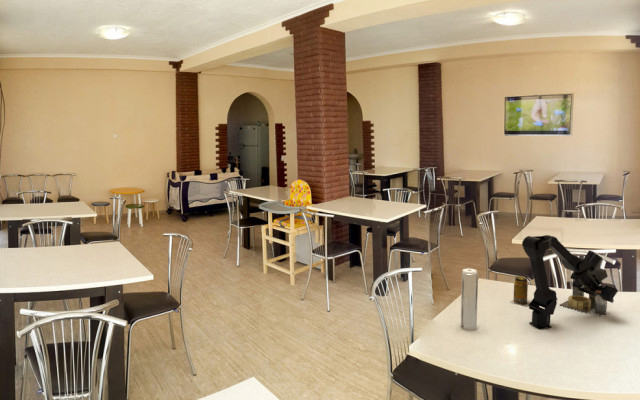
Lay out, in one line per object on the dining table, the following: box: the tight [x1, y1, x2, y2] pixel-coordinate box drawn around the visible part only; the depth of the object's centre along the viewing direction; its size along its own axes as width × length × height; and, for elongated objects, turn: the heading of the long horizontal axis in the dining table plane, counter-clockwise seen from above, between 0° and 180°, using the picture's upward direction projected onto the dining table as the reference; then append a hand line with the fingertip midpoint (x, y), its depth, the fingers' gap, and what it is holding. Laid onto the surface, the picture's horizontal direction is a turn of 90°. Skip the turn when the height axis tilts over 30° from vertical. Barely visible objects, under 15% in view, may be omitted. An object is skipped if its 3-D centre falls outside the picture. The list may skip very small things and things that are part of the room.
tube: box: [593, 290, 608, 316], centre depth 207 cm, size 5×5×12 cm
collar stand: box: [559, 279, 595, 314], centre depth 217 cm, size 15×12×10 cm
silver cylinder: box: [460, 267, 479, 331], centre depth 196 cm, size 6×6×25 cm
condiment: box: [509, 276, 531, 307], centre depth 222 cm, size 7×8×12 cm
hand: (603, 298), depth 207 cm, fingers open, 9 cm apart
